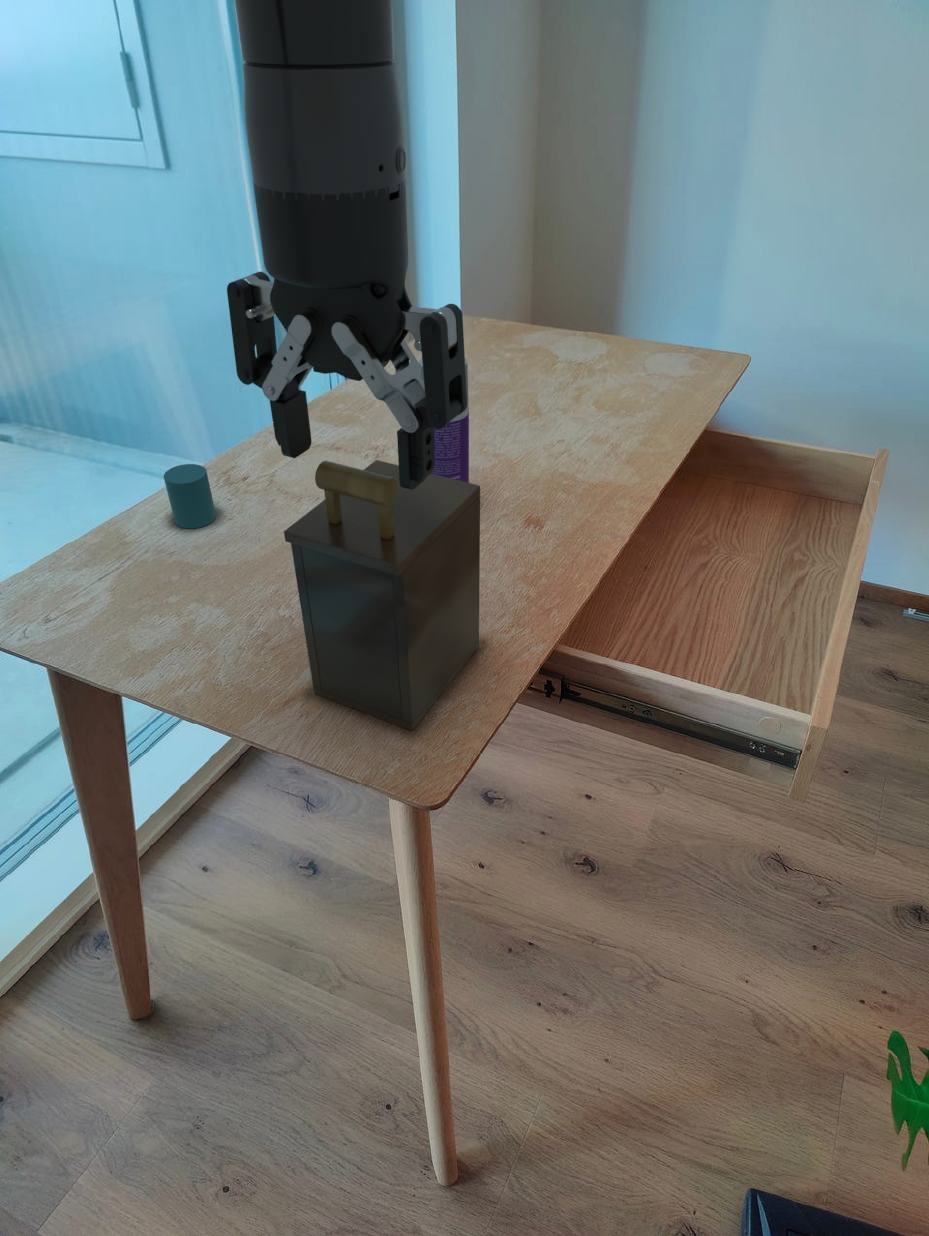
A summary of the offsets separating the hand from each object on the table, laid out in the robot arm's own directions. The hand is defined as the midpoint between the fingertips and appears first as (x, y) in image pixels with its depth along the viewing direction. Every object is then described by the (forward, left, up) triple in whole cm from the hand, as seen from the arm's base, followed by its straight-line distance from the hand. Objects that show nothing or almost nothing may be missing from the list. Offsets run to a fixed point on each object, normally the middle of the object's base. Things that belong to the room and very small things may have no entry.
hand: (354, 467), depth 51 cm
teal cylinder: (-3, +33, -19) cm, 38 cm away
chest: (+3, +2, -19) cm, 19 cm away
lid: (+3, +1, -5) cm, 6 cm away
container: (+19, +21, -19) cm, 34 cm away
